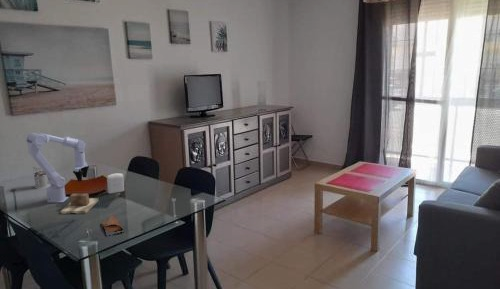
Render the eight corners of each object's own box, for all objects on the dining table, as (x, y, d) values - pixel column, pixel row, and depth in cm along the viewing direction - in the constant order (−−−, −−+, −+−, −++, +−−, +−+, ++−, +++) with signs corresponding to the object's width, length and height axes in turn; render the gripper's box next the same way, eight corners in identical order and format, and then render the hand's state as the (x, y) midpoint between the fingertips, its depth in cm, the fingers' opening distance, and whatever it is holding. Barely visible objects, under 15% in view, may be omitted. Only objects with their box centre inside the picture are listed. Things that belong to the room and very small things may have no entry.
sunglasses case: (98, 223, 200) (104, 211, 200) (110, 226, 204) (116, 215, 204) (106, 237, 185) (112, 224, 185) (119, 240, 189) (125, 228, 189)
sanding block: (70, 205, 219) (69, 196, 218) (73, 203, 223) (72, 193, 222) (86, 205, 219) (85, 195, 218) (89, 203, 223) (88, 193, 222)
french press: (39, 189, 249) (34, 153, 243) (29, 186, 255) (24, 150, 249) (53, 185, 257) (48, 149, 251) (43, 182, 263) (38, 147, 257)
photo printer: (123, 189, 250) (121, 171, 247) (125, 191, 247) (123, 173, 244) (107, 192, 245) (105, 174, 242) (108, 194, 241) (107, 175, 238)
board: (60, 213, 212) (60, 211, 212) (75, 200, 231) (74, 198, 230) (85, 213, 212) (85, 210, 212) (98, 200, 231) (98, 198, 230)
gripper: (81, 161, 231) (84, 182, 234) (91, 155, 245) (93, 175, 248) (70, 161, 231) (72, 183, 234) (80, 155, 245) (82, 175, 248)
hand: (82, 179), depth 241 cm, fingers open, 7 cm apart
